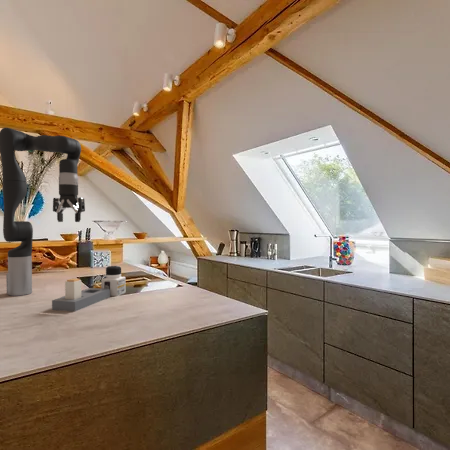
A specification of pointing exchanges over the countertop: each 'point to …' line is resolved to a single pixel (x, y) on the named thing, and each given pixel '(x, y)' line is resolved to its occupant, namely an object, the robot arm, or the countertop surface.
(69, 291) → the plug peg
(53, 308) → the panel
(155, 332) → the countertop surface
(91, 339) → the countertop surface
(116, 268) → the container
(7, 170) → the robot arm
